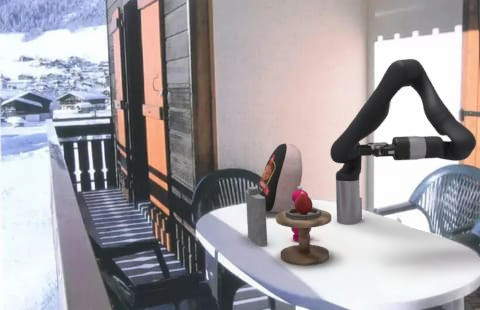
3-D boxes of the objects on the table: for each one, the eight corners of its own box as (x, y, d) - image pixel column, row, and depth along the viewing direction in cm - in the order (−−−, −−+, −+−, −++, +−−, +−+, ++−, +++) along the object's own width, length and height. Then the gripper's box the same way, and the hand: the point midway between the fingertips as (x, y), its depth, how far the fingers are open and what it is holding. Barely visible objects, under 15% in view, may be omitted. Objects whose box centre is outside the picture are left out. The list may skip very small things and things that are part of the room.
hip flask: (268, 245, 196) (266, 191, 193) (257, 247, 195) (255, 192, 192) (254, 233, 211) (252, 182, 208) (244, 235, 210) (242, 183, 207)
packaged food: (253, 207, 250) (250, 142, 246) (295, 203, 254) (292, 139, 249) (264, 220, 229) (261, 148, 225) (309, 215, 233) (307, 145, 228)
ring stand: (312, 244, 195) (311, 201, 192) (343, 258, 179) (342, 212, 176) (268, 254, 187) (265, 209, 184) (296, 270, 171) (294, 221, 168)
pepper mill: (314, 237, 202) (312, 184, 199) (308, 243, 196) (306, 188, 193) (295, 235, 206) (293, 183, 202) (288, 241, 199) (286, 187, 196)
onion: (314, 213, 182) (313, 190, 181) (310, 218, 177) (309, 194, 176) (297, 213, 184) (296, 189, 183) (293, 217, 179) (292, 193, 177)
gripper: (403, 133, 181) (353, 135, 182) (414, 139, 167) (360, 141, 168) (403, 156, 182) (354, 158, 183) (414, 163, 168) (360, 165, 169)
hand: (357, 150), depth 176 cm, fingers open, 8 cm apart
